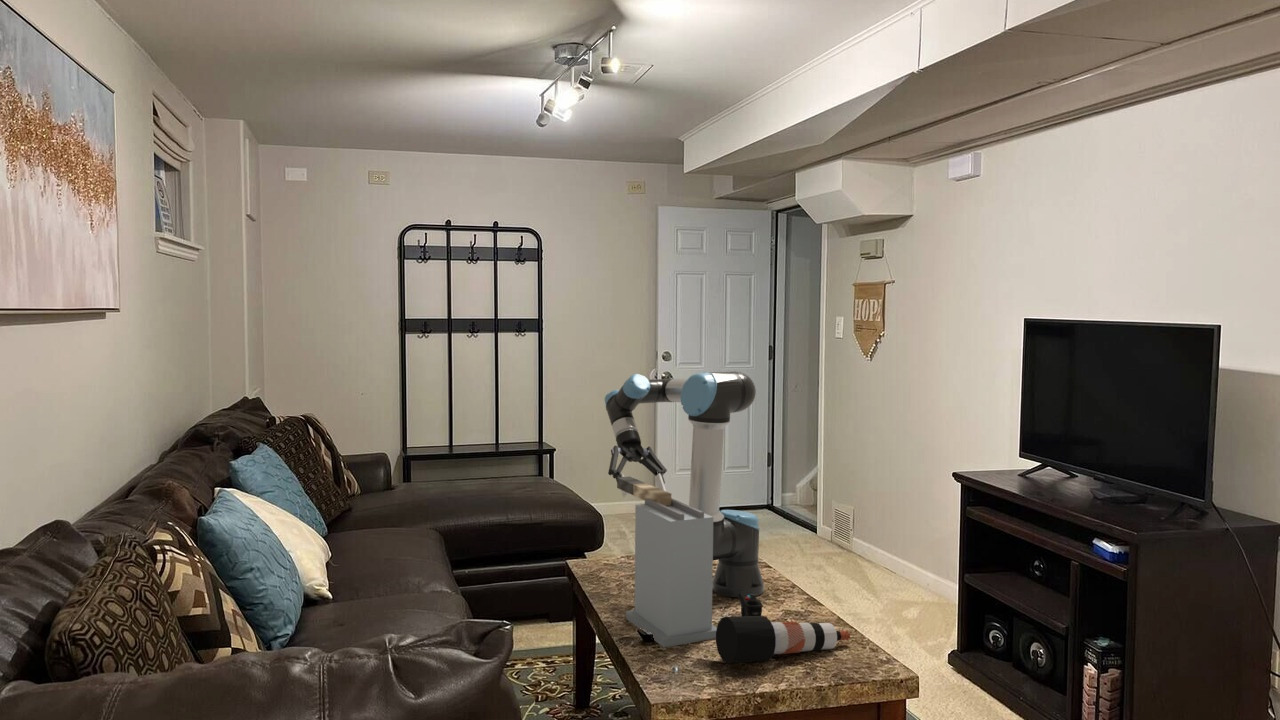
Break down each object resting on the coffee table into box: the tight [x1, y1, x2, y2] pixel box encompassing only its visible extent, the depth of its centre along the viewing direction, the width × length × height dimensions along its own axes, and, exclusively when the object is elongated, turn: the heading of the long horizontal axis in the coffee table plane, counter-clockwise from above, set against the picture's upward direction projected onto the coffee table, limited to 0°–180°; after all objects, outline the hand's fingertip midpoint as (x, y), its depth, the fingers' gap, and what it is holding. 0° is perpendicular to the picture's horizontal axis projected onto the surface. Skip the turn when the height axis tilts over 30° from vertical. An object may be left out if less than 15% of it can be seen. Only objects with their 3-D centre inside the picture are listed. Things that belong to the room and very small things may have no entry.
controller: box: [737, 592, 763, 616], centre depth 224 cm, size 4×12×10 cm, turn 6°
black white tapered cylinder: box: [715, 615, 851, 664], centre depth 207 cm, size 10×34×10 cm, turn 110°
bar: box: [616, 476, 672, 506], centre depth 239 cm, size 26×4×3 cm, turn 25°
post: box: [625, 497, 717, 648], centre depth 223 cm, size 22×16×32 cm
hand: (644, 494), depth 265 cm, fingers open, 13 cm apart
